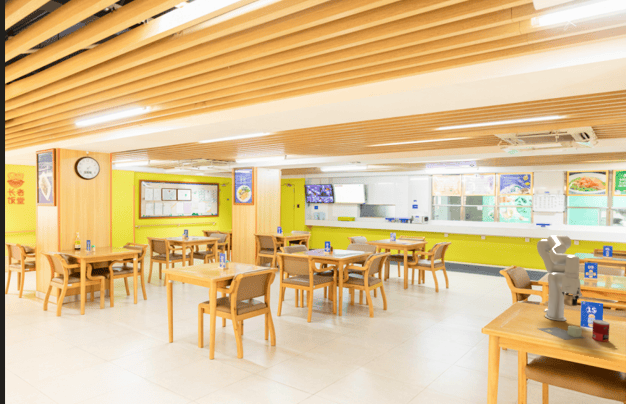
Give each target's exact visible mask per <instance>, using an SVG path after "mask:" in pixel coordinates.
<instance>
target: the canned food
mask: <svg viewBox="0 0 626 404" xmlns="http://www.w3.org/2000/svg"><path fill="white" fill-rule="evenodd" d="M591 335H592V337H591V338H592V339H593V340H594V341H597V342H600V343H601V342H602V343H608V342H610V341H609V340H610V322H608V321H606V320H603V319H602V320H601V319H593V320H592V334H591Z"/></svg>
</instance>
